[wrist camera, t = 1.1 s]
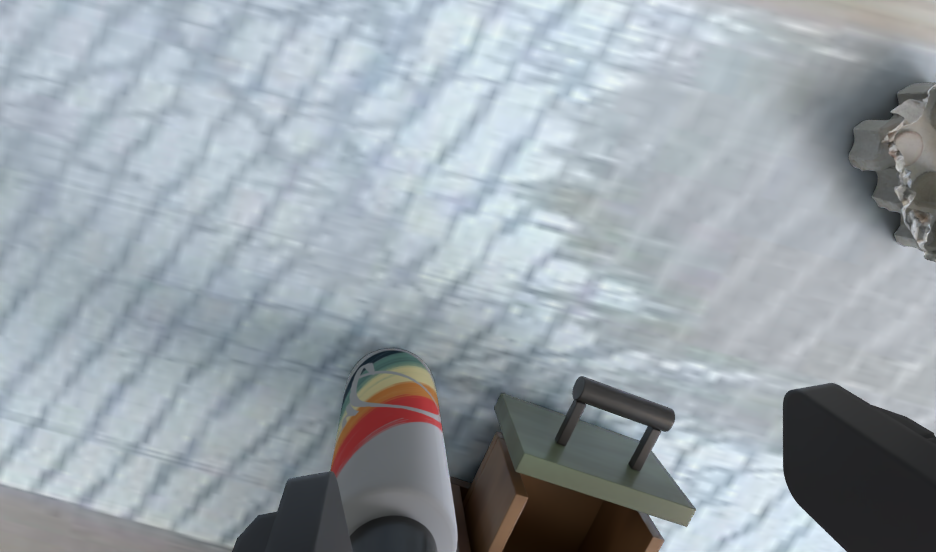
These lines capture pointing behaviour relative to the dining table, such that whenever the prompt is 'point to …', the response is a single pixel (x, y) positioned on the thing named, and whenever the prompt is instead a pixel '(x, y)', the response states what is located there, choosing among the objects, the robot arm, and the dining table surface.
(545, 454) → the drawer
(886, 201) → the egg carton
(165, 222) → the dining table surface
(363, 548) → the lotion bottle
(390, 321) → the dining table surface
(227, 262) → the dining table surface
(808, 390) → the robot arm
